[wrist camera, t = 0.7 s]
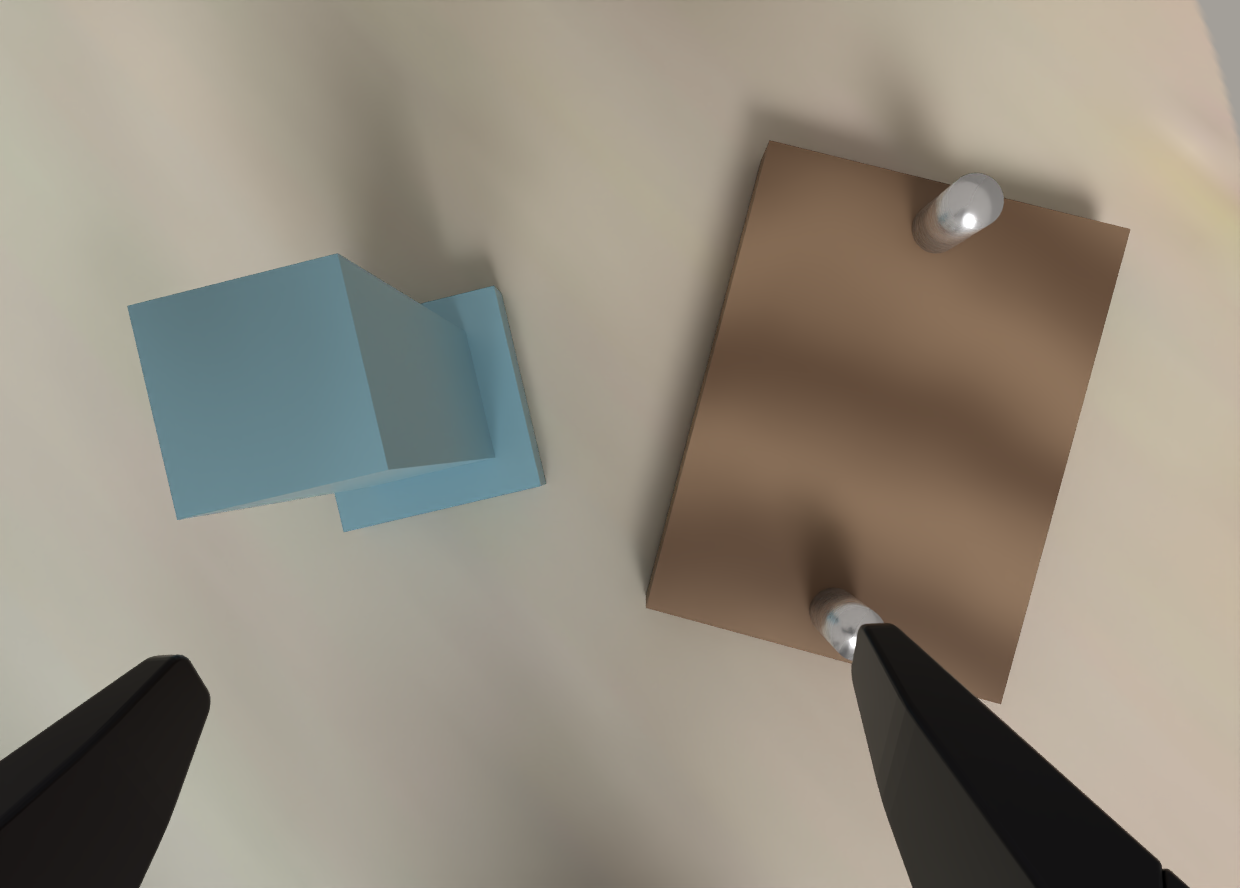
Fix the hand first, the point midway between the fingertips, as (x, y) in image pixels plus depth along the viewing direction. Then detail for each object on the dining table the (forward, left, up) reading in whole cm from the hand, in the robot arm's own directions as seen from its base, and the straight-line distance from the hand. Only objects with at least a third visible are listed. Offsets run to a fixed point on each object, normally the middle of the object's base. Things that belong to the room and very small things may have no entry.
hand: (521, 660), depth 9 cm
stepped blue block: (-2, +7, -14) cm, 16 cm away
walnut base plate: (+10, -3, -14) cm, 18 cm away
